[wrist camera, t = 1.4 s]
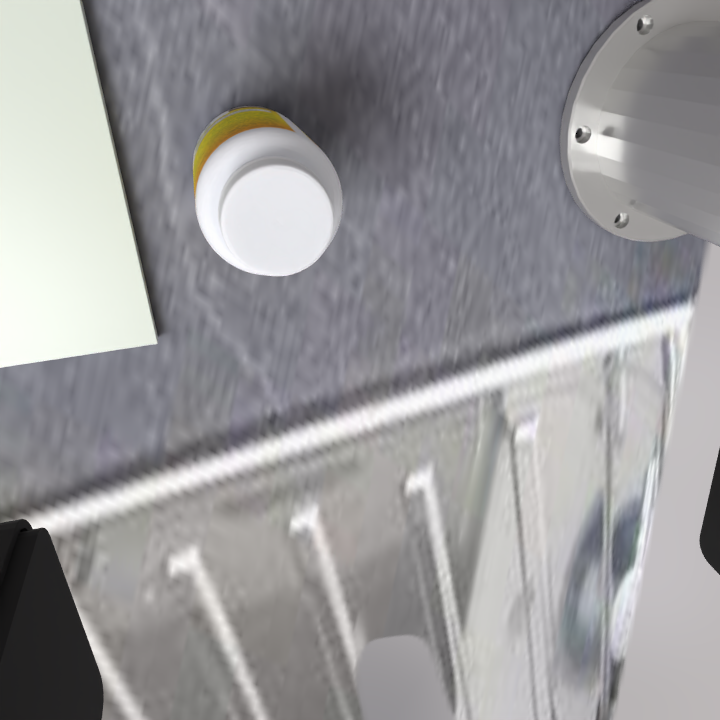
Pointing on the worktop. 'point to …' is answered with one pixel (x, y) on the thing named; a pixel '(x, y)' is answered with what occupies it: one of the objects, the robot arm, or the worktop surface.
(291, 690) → the worktop surface
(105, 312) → the sage mat
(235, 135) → the supplement bottle
